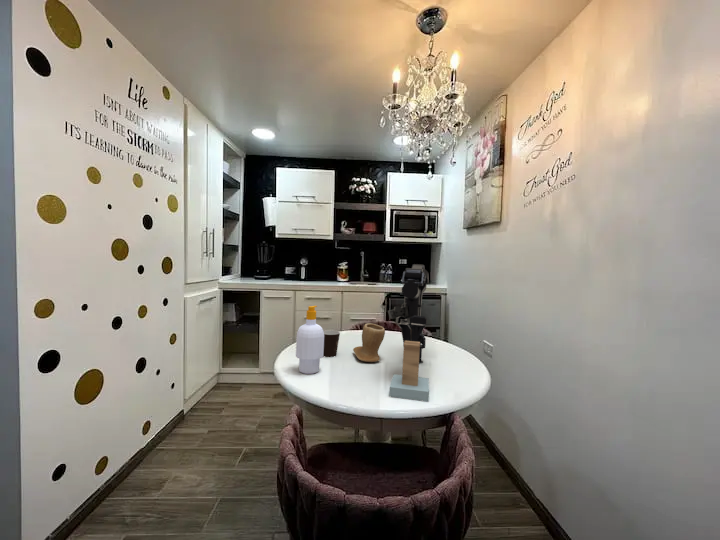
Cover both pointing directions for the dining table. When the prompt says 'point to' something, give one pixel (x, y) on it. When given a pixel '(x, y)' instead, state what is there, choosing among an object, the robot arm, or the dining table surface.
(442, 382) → the dining table surface
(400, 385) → the slate base
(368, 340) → the sandstone flared vase
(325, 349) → the coffee mug
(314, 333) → the soap bottle
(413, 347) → the walnut column
